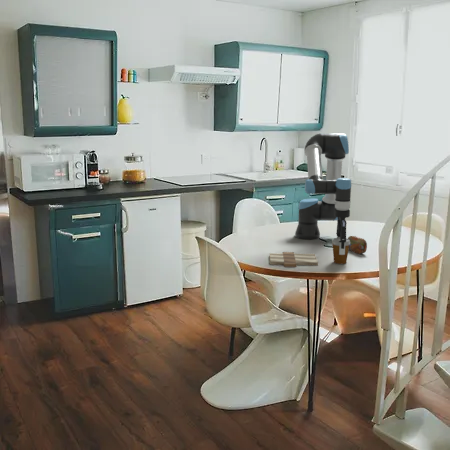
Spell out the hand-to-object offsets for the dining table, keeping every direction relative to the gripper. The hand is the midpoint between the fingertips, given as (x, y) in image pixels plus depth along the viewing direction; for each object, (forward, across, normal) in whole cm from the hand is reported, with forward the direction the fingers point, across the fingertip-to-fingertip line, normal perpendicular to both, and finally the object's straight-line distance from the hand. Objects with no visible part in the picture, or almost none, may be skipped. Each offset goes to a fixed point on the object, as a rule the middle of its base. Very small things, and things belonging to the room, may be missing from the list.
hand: (340, 251), depth 278 cm
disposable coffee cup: (+6, 0, 0) cm, 6 cm away
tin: (+6, -21, +12) cm, 25 cm away
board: (+6, -2, -24) cm, 25 cm away
